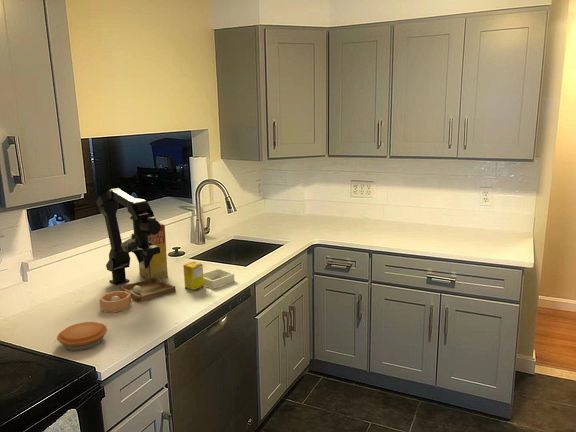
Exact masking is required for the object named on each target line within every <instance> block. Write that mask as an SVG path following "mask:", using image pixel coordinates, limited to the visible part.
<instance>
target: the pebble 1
mask: <svg viewBox="0 0 576 432" xmlns="http://www.w3.org/2000/svg"><path fill="white" fill-rule="evenodd" d="M117 300H120V298H119V297H118V296H113V297H112V298H111V301H117Z"/></svg>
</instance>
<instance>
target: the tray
mask: <svg viewBox="0 0 576 432" xmlns="http://www.w3.org/2000/svg"><path fill="white" fill-rule="evenodd" d="M135 286H140V287H141V289H142V291H141V293H140V294H135V293H133V287H135ZM119 291H126V292H128V293H130V294H131V300H134V301H135V302H138V303H140V304H142V303H146V302H149V301H152V300H155V299H157V298H161V297H164V296H167V295H171V294H173V293H176V286H175V285H173V284H170V283H168V282H166V281H163V280H161V279H157V278H154V277H153V278H149V279H146V278H145V279H142V280H140V281H135V282H133V283H129V284H126V285H123V286H120V287H119Z"/></svg>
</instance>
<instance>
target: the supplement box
mask: <svg viewBox="0 0 576 432" xmlns="http://www.w3.org/2000/svg"><path fill="white" fill-rule="evenodd" d="M203 268H204V267H203V263H200V262H197V261H191V262H188V263H185V264H183V277H184V290H185V289H186V290H188V291H191V292H196V291H198V290H202V289H203V288H205V286H204V281H203V273H204V269H203Z"/></svg>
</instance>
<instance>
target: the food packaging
mask: <svg viewBox="0 0 576 432" xmlns="http://www.w3.org/2000/svg"><path fill="white" fill-rule="evenodd" d="M159 223H160V225H161V229H160V231H159V233H158V234H156V235H152V234H151V235H149V242H151V245H149V246H152V245H155V246H158V247H160V249H161V253H159V254H155V255H153V257H152V259H151V261H150V264H149V266H148V268H146V269H141V268H140V266H139V265H138V269H139V275H140V276H142V277H143V278H145V280H146V279H149V278H153V277H154V278H157V279H159V280H161V279H165V278H168V277H169V274H168V262H167V259H168V257H167V241H166V239H167V238H166V225H165V224H164V223H161V222H159Z"/></svg>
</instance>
